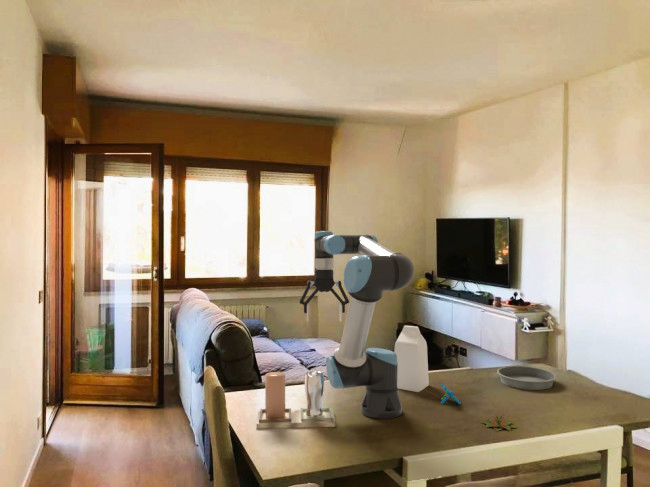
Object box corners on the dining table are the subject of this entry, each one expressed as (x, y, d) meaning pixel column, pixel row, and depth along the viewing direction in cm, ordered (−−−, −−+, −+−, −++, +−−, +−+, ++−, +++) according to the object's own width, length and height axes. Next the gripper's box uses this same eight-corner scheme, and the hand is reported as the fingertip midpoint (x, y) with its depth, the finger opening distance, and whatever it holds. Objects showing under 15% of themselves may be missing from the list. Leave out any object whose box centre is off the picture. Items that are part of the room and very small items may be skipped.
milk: (392, 387, 232) (392, 327, 231) (403, 381, 241) (403, 323, 240) (418, 392, 225) (419, 329, 224) (428, 385, 235) (429, 325, 234)
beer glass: (317, 420, 188) (317, 377, 188) (300, 416, 192) (300, 374, 191) (328, 414, 194) (327, 372, 194) (311, 410, 198) (311, 369, 197)
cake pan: (494, 387, 232) (494, 377, 232) (499, 373, 255) (499, 363, 255) (557, 394, 223) (557, 383, 223) (556, 378, 246) (556, 368, 245)
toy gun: (464, 404, 205) (444, 384, 206) (453, 415, 205) (433, 395, 206) (459, 398, 216) (441, 380, 217) (449, 409, 216) (430, 390, 217)
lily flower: (473, 423, 191) (474, 410, 191) (501, 418, 195) (501, 406, 195) (496, 435, 180) (496, 421, 180) (525, 430, 184) (525, 417, 184)
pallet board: (332, 413, 199) (332, 406, 199) (335, 426, 186) (335, 419, 186) (258, 415, 198) (258, 408, 197) (256, 428, 185) (256, 420, 184)
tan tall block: (288, 415, 193) (288, 373, 193) (278, 421, 187) (278, 378, 186) (272, 412, 196) (272, 371, 196) (261, 418, 190) (261, 375, 189)
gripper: (353, 268, 226) (353, 319, 225) (293, 268, 224) (293, 320, 223) (355, 269, 218) (356, 321, 218) (293, 269, 216) (293, 322, 216)
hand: (324, 321), depth 221 cm, fingers open, 13 cm apart
